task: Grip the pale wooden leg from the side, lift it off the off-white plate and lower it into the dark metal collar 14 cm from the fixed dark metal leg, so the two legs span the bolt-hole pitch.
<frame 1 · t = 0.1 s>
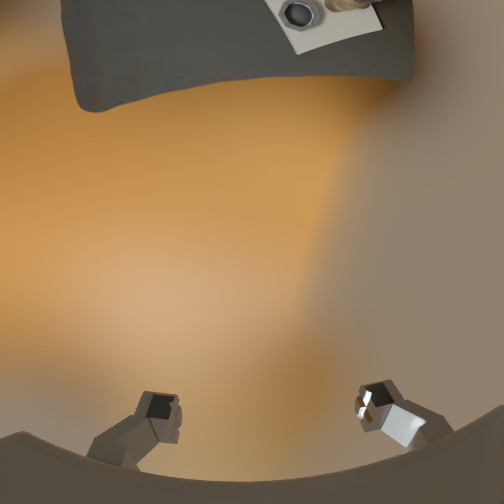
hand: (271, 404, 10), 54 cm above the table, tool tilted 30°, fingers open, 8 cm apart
wooden leg: (334, 4, 33), point 1 cm above the table, touching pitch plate
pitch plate: (323, 7, 34), on the table
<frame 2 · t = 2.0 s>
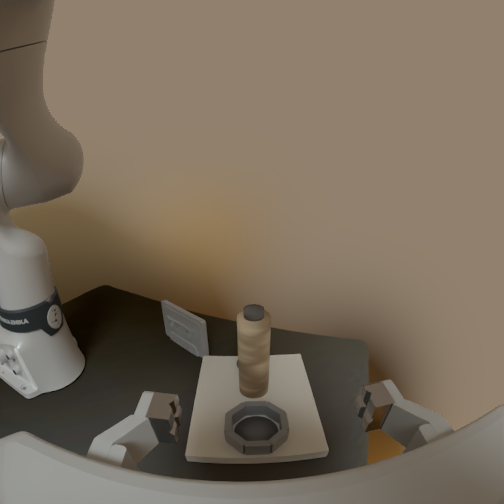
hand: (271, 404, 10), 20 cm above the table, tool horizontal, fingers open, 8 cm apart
wooden leg: (253, 388, 35), point 1 cm above the table, touching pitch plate
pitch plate: (254, 405, 33), on the table
cassette: (186, 346, 47), on the table
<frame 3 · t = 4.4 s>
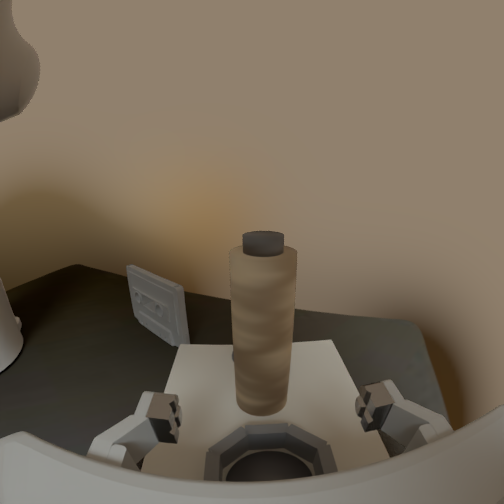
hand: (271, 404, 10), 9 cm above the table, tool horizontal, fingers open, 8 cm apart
wooden leg: (261, 398, 19), point 2 cm above the table, touching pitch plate
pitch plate: (262, 427, 18), on the table
cassette: (159, 332, 32), on the table
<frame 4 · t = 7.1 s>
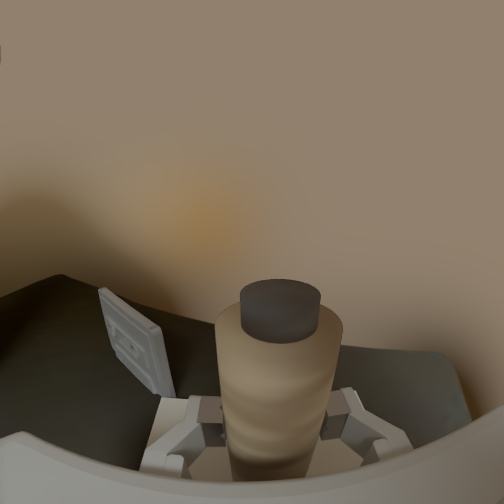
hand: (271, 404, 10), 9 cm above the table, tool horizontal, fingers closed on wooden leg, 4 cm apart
wooden leg: (267, 485, 11), point 1 cm above the table, touching gripper, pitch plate
cassette: (139, 372, 24), on the table
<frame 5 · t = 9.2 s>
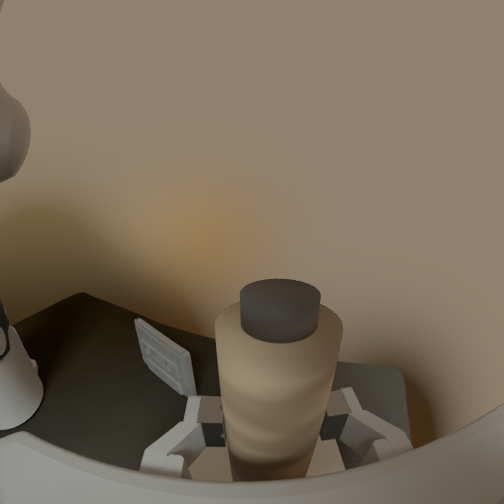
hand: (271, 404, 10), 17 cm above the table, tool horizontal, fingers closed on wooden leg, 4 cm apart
wooden leg: (267, 484, 11), point 10 cm above the table, touching gripper
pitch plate: (258, 472, 20), on the table
cassette: (168, 379, 34), on the table
when the fingers open (10 cm above the table, at t = 11.4 s): wooden leg drops 1 cm, resting on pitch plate.
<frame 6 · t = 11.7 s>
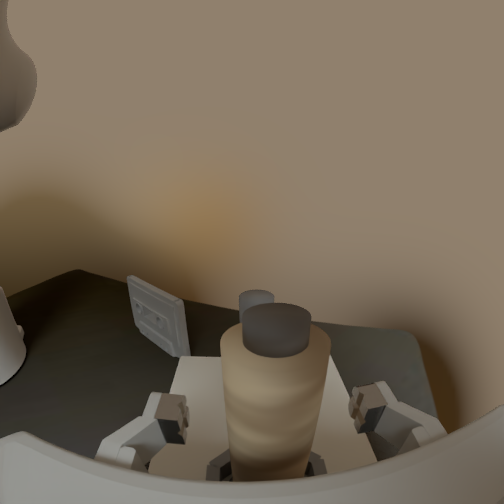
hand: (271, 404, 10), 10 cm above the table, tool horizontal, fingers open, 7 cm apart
wooden leg: (266, 491, 12), point 2 cm above the table, touching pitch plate
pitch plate: (260, 439, 18), on the table
cassette: (160, 342, 32), on the table
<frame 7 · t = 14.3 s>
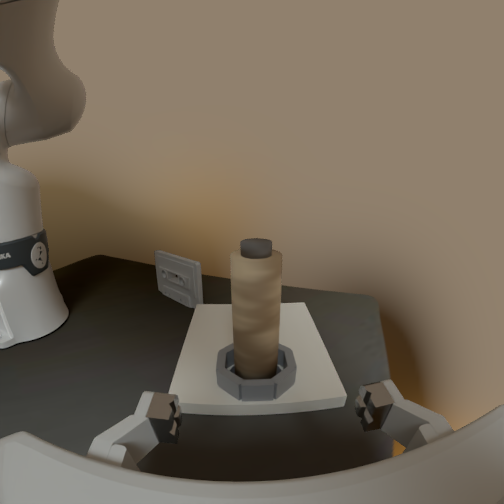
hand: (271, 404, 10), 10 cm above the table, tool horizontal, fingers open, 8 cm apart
wooden leg: (255, 374, 24), point 2 cm above the table, touching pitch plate
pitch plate: (253, 352, 31), on the table
cassette: (179, 300, 45), on the table
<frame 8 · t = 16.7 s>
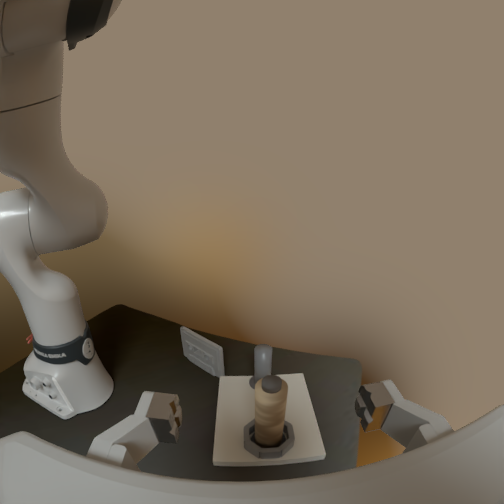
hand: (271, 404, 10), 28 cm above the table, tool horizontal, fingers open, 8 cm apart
wooden leg: (268, 440, 33), point 2 cm above the table, touching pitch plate
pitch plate: (265, 418, 39), on the table
cassette: (203, 366, 53), on the table
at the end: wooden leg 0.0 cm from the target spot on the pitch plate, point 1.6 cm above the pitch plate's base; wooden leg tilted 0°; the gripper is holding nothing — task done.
